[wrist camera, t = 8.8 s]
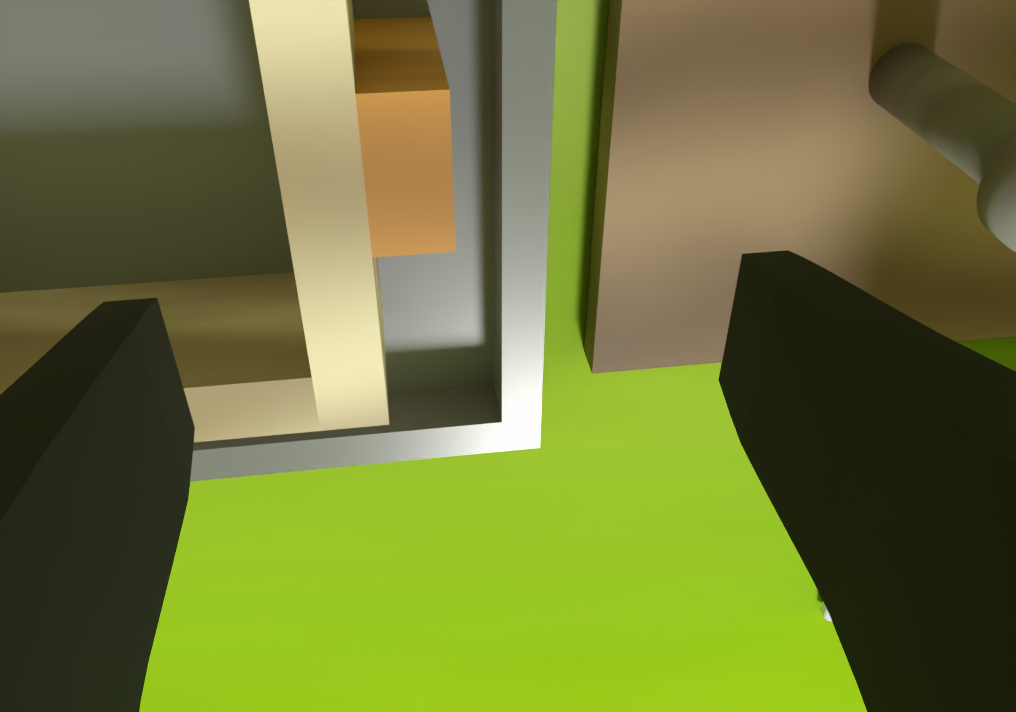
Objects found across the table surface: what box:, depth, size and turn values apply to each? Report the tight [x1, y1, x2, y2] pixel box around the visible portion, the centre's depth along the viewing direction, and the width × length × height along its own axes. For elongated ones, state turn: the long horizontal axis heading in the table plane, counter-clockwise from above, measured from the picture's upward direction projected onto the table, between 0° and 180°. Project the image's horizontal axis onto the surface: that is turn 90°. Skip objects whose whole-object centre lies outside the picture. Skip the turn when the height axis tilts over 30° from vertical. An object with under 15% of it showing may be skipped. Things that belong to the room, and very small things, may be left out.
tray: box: [0, 0, 557, 481], centre depth 17 cm, size 18×18×2 cm
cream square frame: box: [0, 0, 456, 442], centre depth 16 cm, size 11×12×4 cm
